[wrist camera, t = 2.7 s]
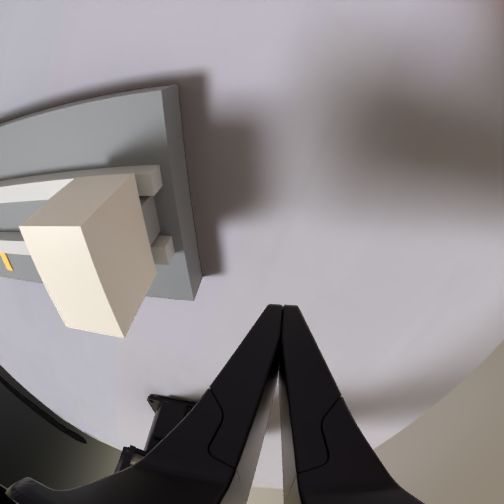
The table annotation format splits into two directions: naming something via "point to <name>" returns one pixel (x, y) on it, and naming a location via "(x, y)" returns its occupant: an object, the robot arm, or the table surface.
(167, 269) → the console
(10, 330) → the table surface
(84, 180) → the fader
